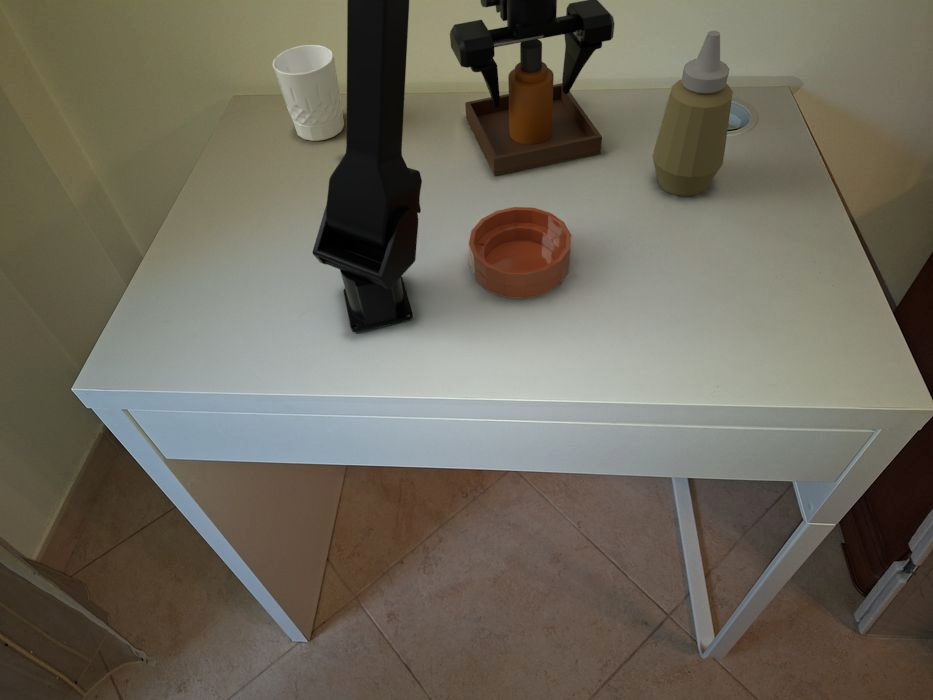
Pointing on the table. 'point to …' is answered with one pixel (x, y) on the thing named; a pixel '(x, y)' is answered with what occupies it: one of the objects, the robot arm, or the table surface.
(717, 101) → the squeeze bottle
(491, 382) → the table surface
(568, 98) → the tray
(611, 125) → the table surface
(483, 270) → the bowl
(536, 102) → the bottle
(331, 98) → the white cup
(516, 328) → the table surface
